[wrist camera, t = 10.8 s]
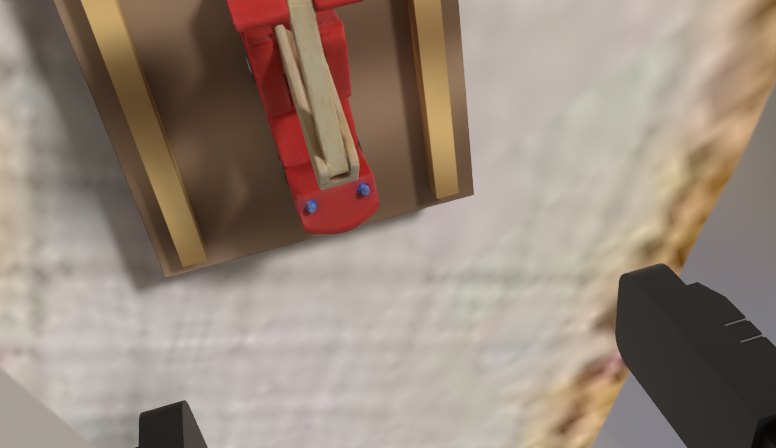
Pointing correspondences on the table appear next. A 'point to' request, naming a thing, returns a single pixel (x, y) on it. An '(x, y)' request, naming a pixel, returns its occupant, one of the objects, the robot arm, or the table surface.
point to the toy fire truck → (309, 107)
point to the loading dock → (264, 118)
